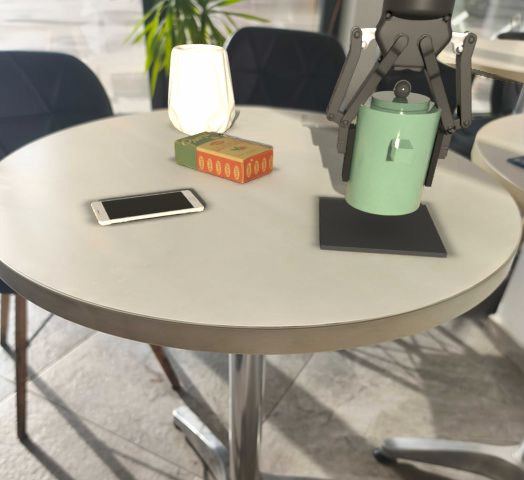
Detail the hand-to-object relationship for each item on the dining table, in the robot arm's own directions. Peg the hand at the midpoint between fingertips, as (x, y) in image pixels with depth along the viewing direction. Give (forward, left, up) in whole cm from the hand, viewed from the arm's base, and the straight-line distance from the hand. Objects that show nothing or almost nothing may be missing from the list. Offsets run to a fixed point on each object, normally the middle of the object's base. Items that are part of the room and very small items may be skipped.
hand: (385, 180), depth 65 cm
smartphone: (+33, -1, -7) cm, 34 cm away
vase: (+33, -45, -7) cm, 56 cm away
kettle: (0, 0, -3) cm, 3 cm away
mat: (0, 0, -7) cm, 7 cm away
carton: (+25, -21, -7) cm, 33 cm away
